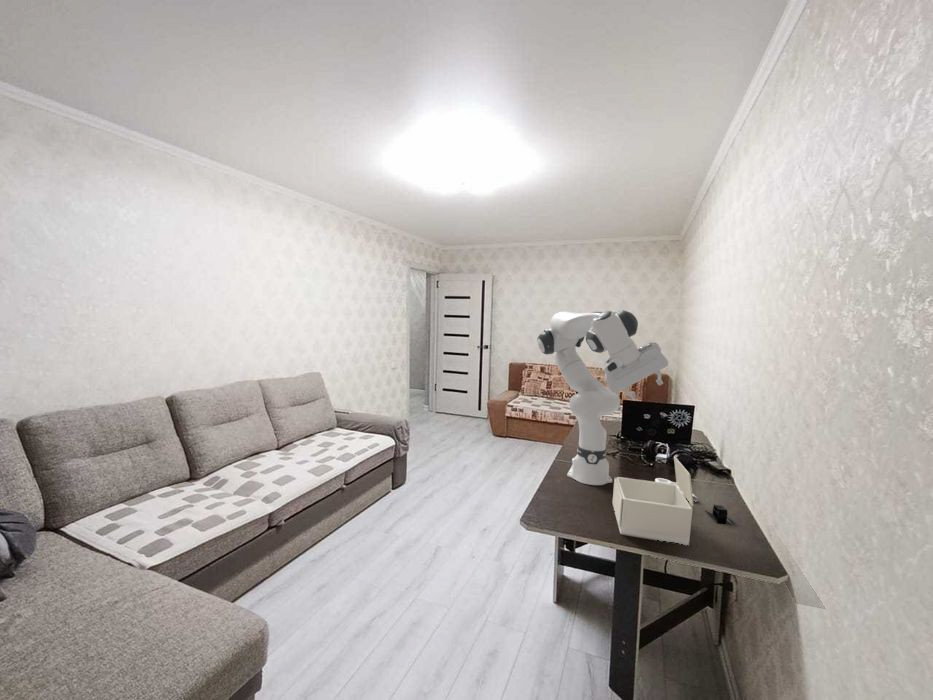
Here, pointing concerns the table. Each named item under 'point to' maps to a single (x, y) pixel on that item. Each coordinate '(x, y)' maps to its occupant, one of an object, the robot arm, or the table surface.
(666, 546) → the table surface
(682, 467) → the carton flap
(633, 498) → the carton
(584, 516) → the table surface
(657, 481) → the spiked knuckle duster
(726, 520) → the black angular piece
